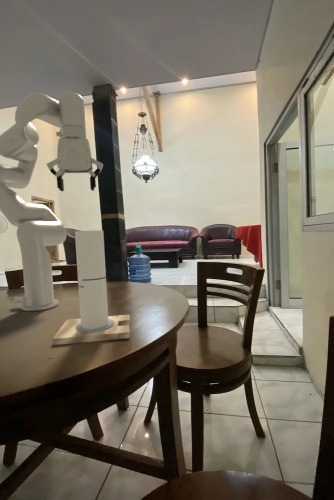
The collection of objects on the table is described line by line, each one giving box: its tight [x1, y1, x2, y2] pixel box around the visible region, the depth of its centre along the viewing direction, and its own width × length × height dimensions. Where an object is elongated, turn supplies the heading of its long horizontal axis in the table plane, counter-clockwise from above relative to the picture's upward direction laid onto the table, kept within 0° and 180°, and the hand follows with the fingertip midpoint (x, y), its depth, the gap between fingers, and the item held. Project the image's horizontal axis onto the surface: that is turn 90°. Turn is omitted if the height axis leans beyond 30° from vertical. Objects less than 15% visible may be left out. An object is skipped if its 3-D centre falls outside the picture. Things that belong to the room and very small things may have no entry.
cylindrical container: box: [74, 229, 109, 329], centre depth 69 cm, size 7×7×25 cm
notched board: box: [52, 314, 131, 346], centre depth 70 cm, size 18×14×2 cm
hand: (77, 190), depth 84 cm, fingers open, 9 cm apart
